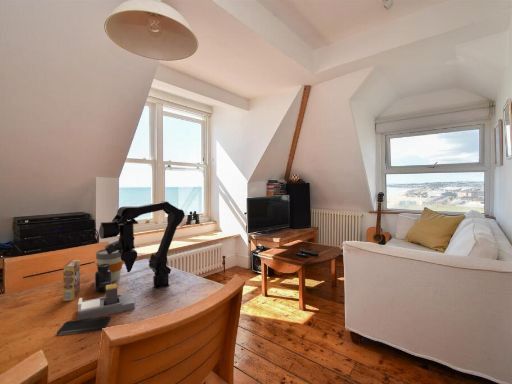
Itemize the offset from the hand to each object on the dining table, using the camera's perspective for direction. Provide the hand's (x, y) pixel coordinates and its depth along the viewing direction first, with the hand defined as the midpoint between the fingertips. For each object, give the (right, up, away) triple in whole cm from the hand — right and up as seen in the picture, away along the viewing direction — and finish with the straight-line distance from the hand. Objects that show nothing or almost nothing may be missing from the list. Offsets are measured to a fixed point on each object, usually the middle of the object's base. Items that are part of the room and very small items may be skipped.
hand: (127, 268), depth 115 cm
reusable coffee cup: (-19, -11, +19) cm, 29 cm away
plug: (-1, -13, -11) cm, 17 cm away
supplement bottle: (-15, -12, +6) cm, 20 cm away
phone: (-3, -14, -24) cm, 28 cm away
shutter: (-8, -10, -15) cm, 19 cm away
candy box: (-24, -12, -1) cm, 27 cm away
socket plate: (-3, -13, -11) cm, 17 cm away
